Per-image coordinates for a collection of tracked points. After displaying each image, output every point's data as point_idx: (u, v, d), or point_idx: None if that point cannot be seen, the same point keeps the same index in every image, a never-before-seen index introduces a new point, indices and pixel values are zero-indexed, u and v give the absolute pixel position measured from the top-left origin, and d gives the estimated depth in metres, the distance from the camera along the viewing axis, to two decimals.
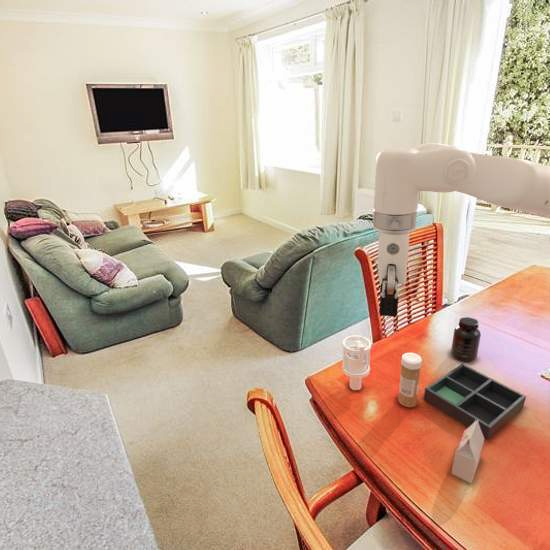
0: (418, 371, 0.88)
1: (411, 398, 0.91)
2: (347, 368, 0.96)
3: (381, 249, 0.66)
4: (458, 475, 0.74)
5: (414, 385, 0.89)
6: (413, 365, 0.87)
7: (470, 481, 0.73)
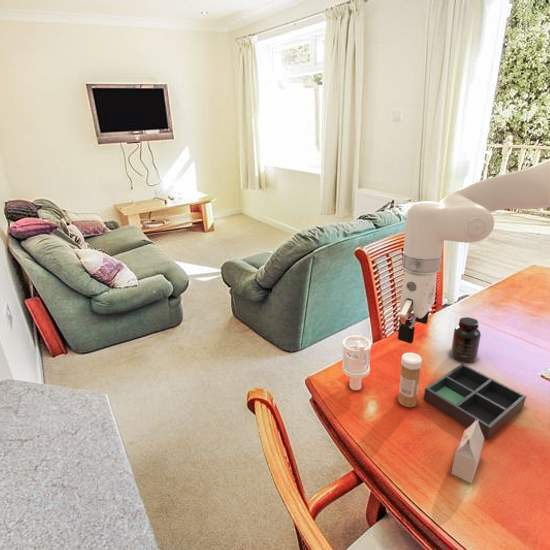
0: (418, 371, 0.88)
1: (411, 398, 0.91)
2: (347, 368, 0.96)
3: (402, 285, 0.78)
4: (458, 475, 0.74)
5: (414, 385, 0.89)
6: (413, 365, 0.87)
7: (470, 481, 0.73)
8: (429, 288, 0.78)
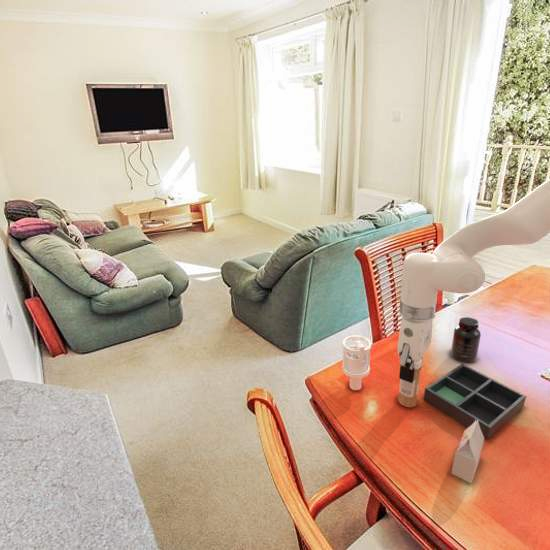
0: (418, 371, 0.88)
1: (411, 398, 0.91)
2: (347, 368, 0.96)
3: (400, 330, 0.83)
4: (458, 475, 0.74)
5: (414, 385, 0.89)
6: None
7: (470, 481, 0.73)
8: (425, 333, 0.82)
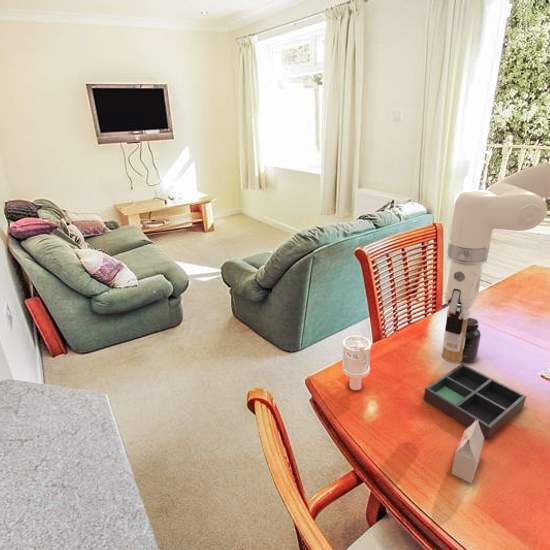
0: (466, 322, 0.82)
1: (457, 353, 0.85)
2: (347, 368, 0.96)
3: (449, 275, 0.77)
4: (458, 475, 0.74)
5: (461, 338, 0.83)
6: None
7: (470, 481, 0.73)
8: (477, 278, 0.77)
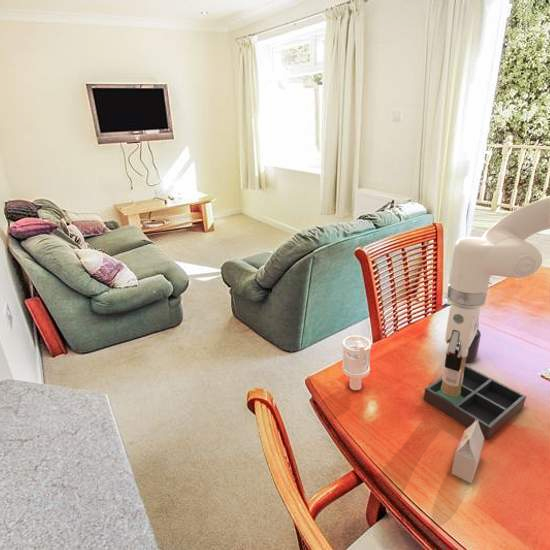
0: (464, 359, 0.86)
1: (455, 387, 0.89)
2: (347, 368, 0.96)
3: (449, 316, 0.81)
4: (458, 475, 0.74)
5: (460, 374, 0.87)
6: None
7: (470, 481, 0.73)
8: (475, 320, 0.81)
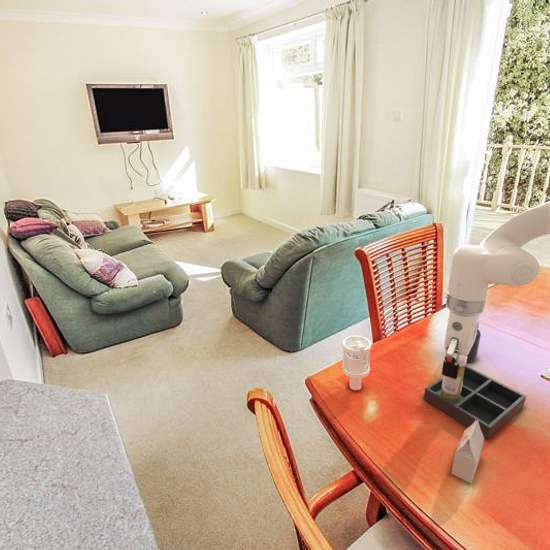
0: (463, 368, 0.87)
1: (454, 396, 0.90)
2: (347, 368, 0.96)
3: (448, 324, 0.82)
4: (458, 475, 0.74)
5: (459, 382, 0.88)
6: (459, 361, 0.86)
7: (470, 481, 0.73)
8: (474, 327, 0.81)
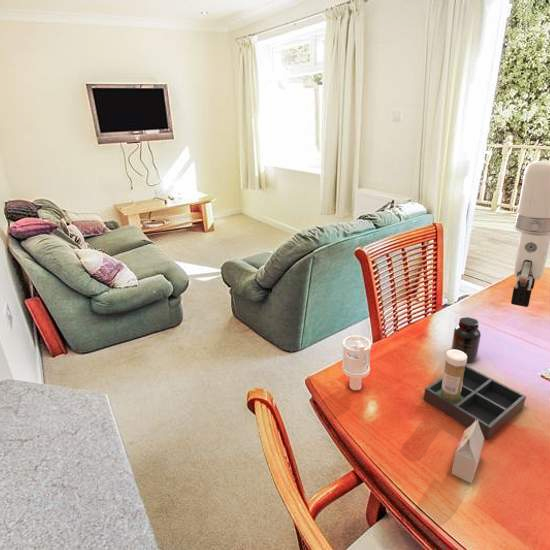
0: (463, 368, 0.87)
1: (455, 396, 0.90)
2: (347, 368, 0.96)
3: (519, 247, 0.78)
4: (458, 475, 0.74)
5: (459, 382, 0.88)
6: (459, 361, 0.86)
7: (470, 481, 0.73)
8: (547, 249, 0.77)
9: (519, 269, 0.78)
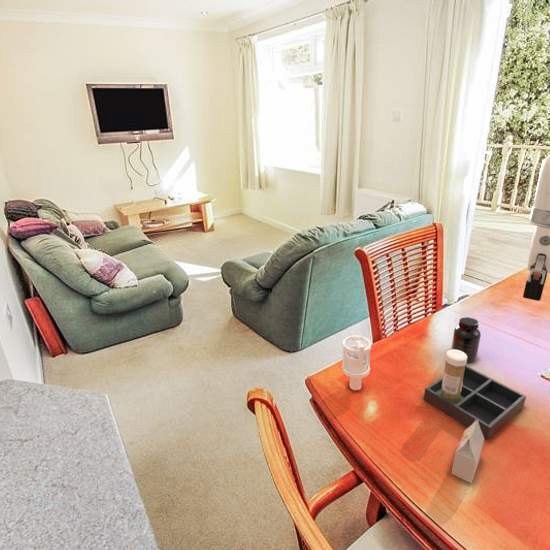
0: (463, 368, 0.87)
1: (455, 396, 0.90)
2: (347, 368, 0.96)
3: (534, 240, 0.78)
4: (458, 475, 0.74)
5: (459, 382, 0.88)
6: (459, 362, 0.86)
7: (470, 481, 0.73)
8: None
9: (533, 262, 0.79)
